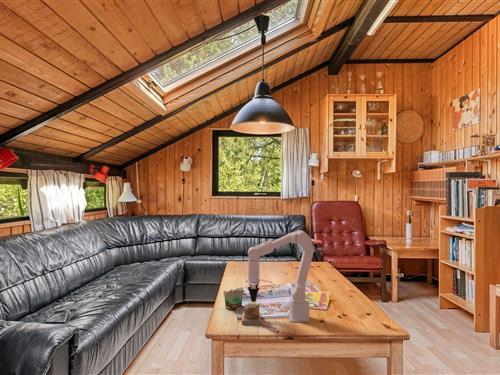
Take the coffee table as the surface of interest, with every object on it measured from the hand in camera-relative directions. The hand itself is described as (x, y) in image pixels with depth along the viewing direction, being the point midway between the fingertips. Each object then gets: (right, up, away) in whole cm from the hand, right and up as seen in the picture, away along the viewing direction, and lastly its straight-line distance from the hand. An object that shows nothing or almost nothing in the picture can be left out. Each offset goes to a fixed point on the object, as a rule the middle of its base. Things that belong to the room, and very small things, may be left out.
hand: (253, 298), depth 163 cm
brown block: (-1, -8, -2) cm, 9 cm away
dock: (-1, -10, -1) cm, 10 cm away
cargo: (-1, -3, -2) cm, 4 cm away
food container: (-10, -10, +14) cm, 20 cm away
